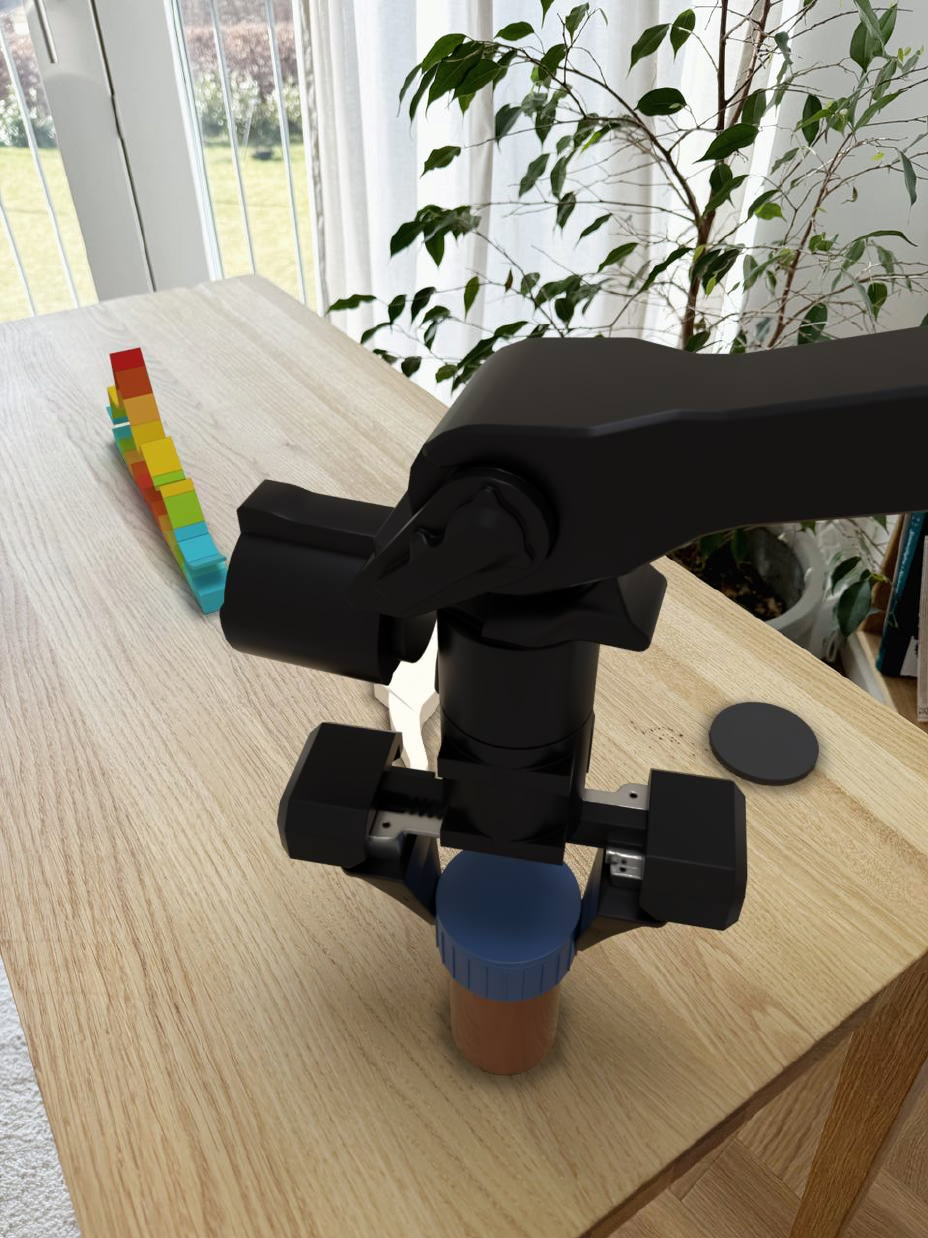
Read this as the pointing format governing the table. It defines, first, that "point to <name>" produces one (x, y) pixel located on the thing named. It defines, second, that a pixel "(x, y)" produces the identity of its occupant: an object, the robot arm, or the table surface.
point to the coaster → (764, 743)
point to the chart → (163, 478)
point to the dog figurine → (412, 702)
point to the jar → (503, 1029)
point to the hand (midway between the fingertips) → (507, 929)
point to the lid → (506, 924)
